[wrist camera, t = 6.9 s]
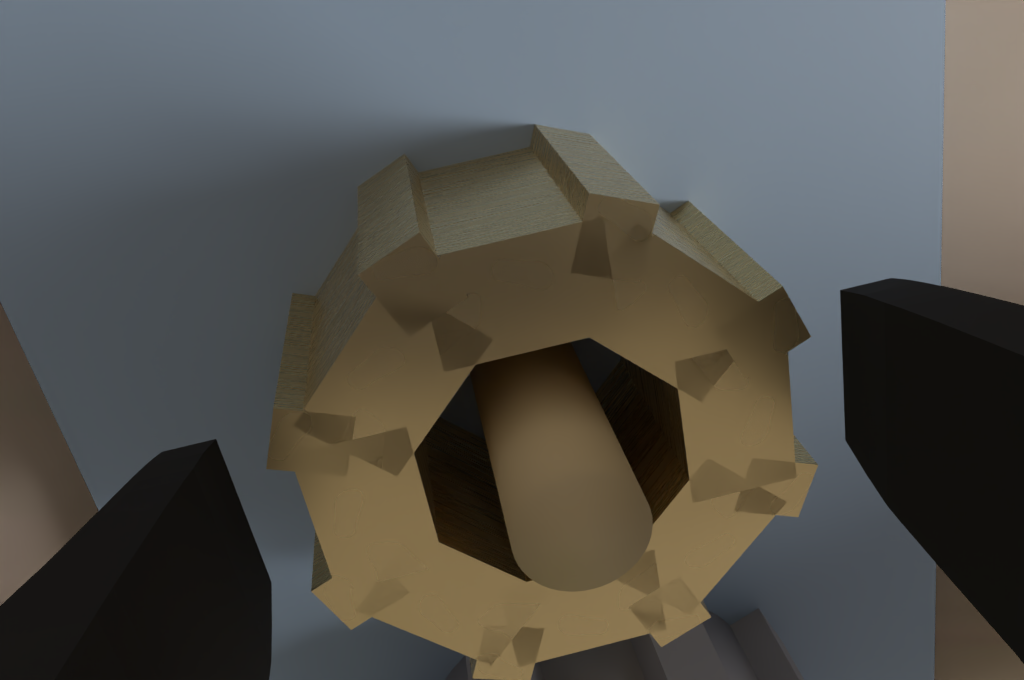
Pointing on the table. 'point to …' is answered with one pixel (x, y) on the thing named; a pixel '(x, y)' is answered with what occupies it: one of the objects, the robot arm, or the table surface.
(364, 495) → the brass cog
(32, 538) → the table surface
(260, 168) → the gear board
